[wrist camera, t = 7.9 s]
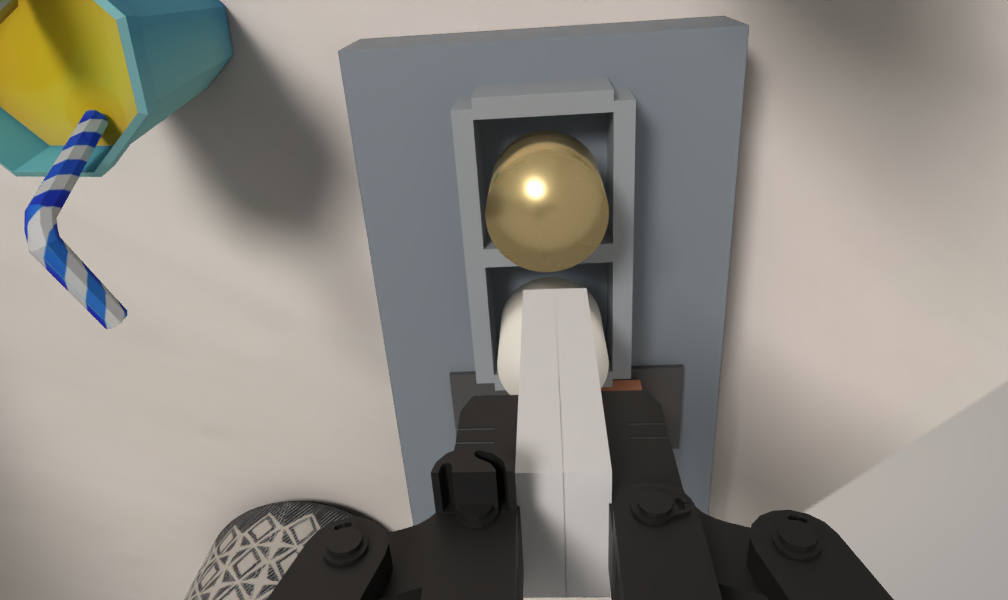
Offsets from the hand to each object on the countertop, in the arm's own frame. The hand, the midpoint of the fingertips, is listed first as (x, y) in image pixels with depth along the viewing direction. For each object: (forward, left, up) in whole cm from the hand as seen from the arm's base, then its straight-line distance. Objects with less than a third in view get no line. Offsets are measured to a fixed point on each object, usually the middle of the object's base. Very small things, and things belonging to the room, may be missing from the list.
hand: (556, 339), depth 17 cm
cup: (-16, +5, -19) cm, 25 cm away
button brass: (0, 0, -11) cm, 11 cm away
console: (0, -9, -18) cm, 20 cm away
